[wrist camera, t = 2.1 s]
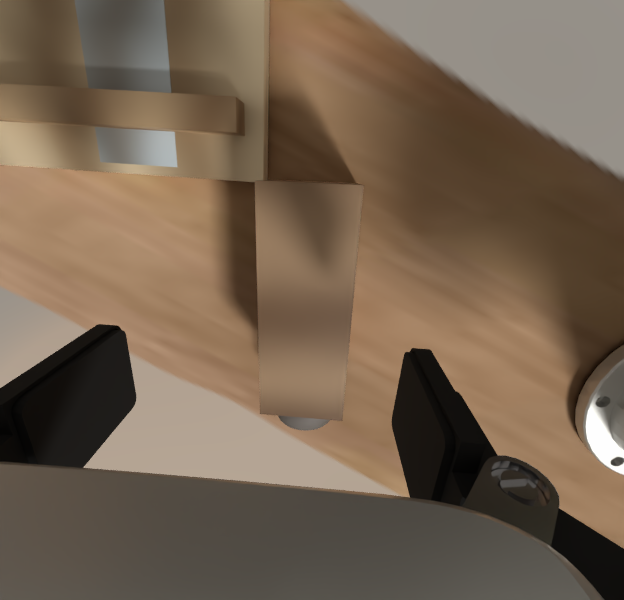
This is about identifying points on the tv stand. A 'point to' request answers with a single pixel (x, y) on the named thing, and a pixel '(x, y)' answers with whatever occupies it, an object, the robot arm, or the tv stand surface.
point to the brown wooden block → (305, 296)
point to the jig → (136, 86)
